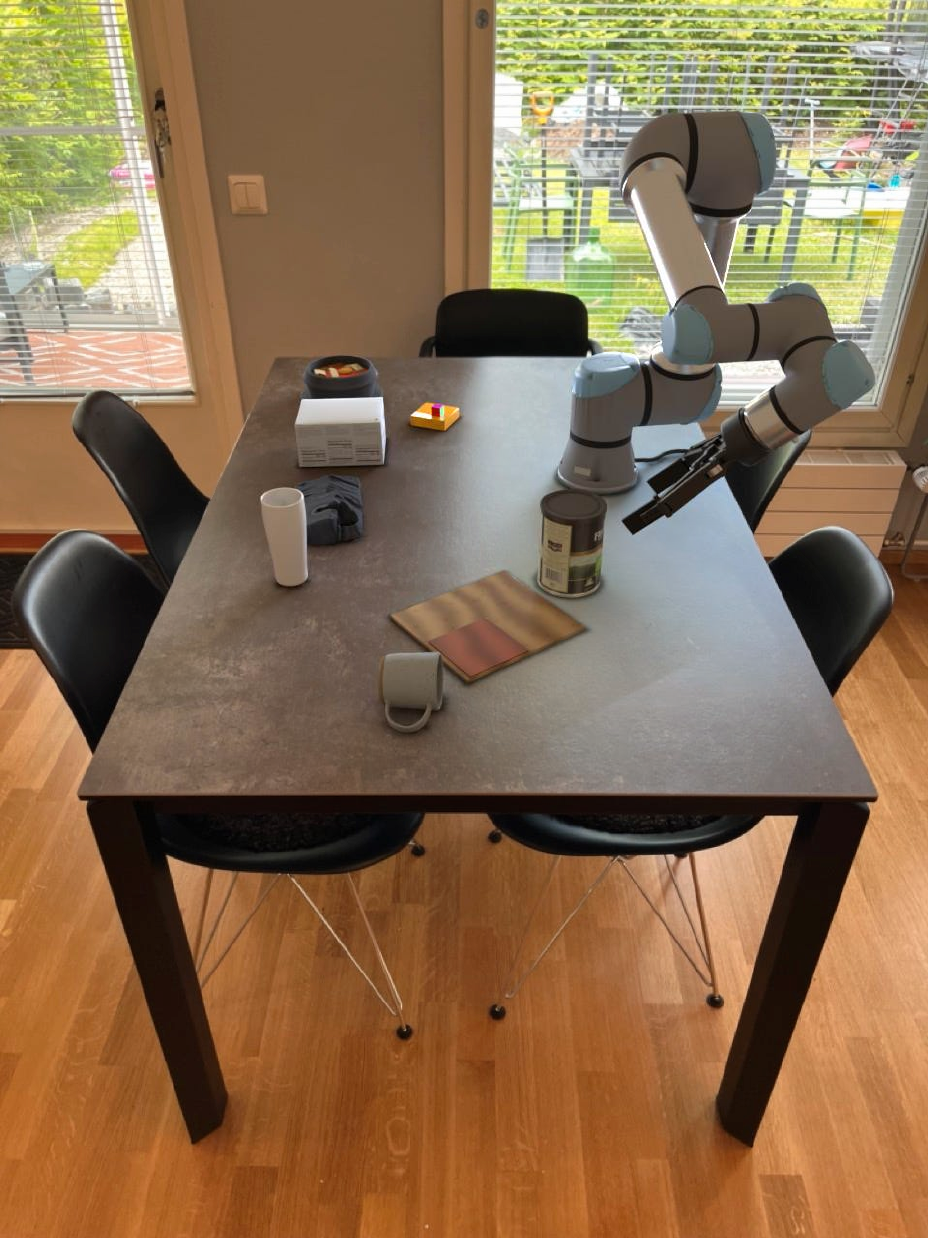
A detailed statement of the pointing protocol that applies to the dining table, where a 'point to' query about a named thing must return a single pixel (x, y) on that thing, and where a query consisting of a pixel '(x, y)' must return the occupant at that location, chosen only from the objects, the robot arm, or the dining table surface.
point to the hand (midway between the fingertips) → (640, 506)
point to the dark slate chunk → (332, 509)
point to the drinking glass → (286, 534)
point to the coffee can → (571, 542)
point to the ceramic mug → (411, 684)
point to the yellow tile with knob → (435, 416)
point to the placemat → (486, 625)
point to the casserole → (340, 378)
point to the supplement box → (340, 432)
